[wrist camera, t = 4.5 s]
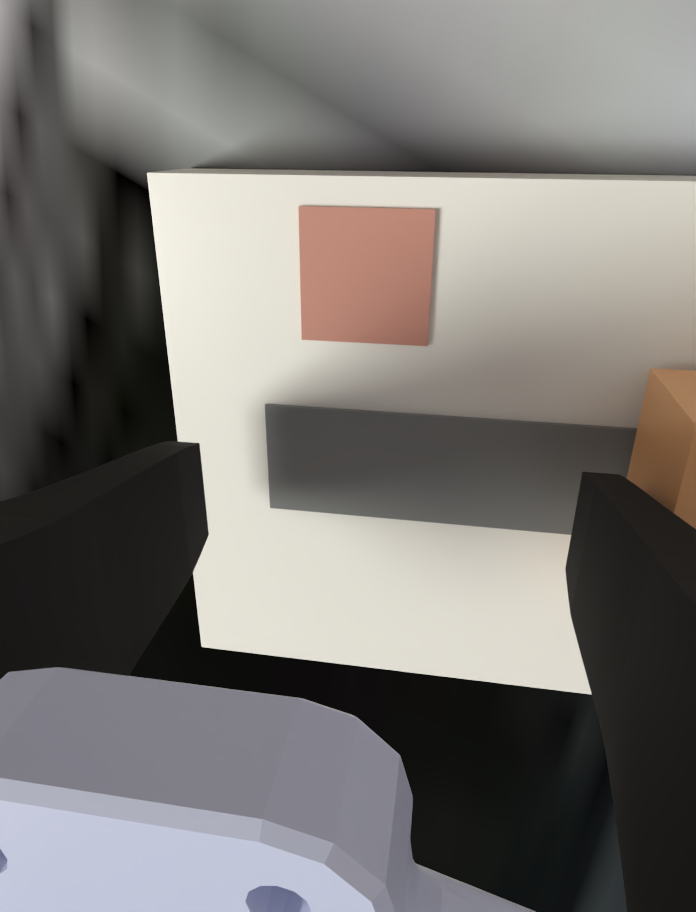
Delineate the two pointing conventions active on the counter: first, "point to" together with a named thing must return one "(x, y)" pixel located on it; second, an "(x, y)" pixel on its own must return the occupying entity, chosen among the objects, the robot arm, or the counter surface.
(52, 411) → the counter surface
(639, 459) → the breaker toggle
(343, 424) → the panel
